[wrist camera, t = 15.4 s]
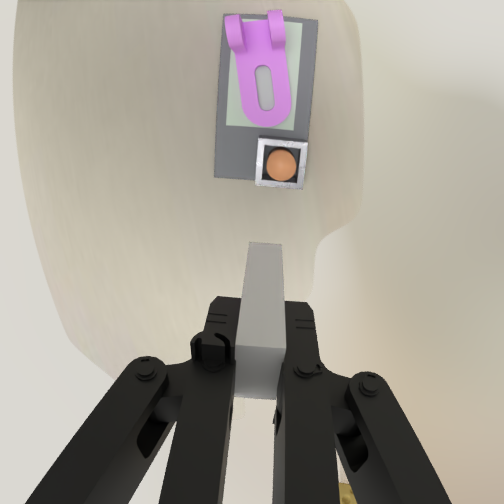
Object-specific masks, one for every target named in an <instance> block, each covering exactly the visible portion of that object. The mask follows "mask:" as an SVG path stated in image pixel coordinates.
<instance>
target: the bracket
mask: <svg viewBox="0 0 504 504" xmlns="http://www.w3.org/2000/svg"><path fill="white" fill-rule="evenodd" d="M267 16H268V19H267V20H257V21H249V22H243V21H242V19H241V17H240V15H239V14H236V15H230V16H225V29H226V35H227V40H228V44H229V47H230V48H231V49H232V51H233V52H234V53H235V59H236V66H237V73H238V80H239V88H240V95H241V102H242V109H243V112H244V114H245V115H246V117H247V118H248V119H249V120H250V121H251V122H253V123H254V124H256V125H259V126H263V127H271V126H275V125H278V124H280V123H281V122H283V121H284V120H285V119H286V118H287V116H288V115H289V113H290V110H291V94H290V86H289V78H288V70H287V62H286V55H285V43H286V35H285V26H284V20H283V14H282V10H271V11H267ZM259 66H266V67H268V68H269V69H270V71H271V76H272V84H273V92H274V100H275V105H274V107H273V108H272V109H271V110H268V111H266V110H263V109H261V108H260V106H259V101H258V93H257V85H256V78H255V70H256V69H257V68H258V67H259Z"/></svg>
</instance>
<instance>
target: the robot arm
mask: <svg viewBox="0 0 504 504" xmlns="http://www.w3.org/2000/svg"><path fill="white" fill-rule="evenodd" d="M315 329H316V327H315V322H314V313H313V310H312V309H311V308H310V306H309V305H308V303H307V302H295V301H284V280H283V260H282V244H270V243H258V242H249V248H248V255H247V262H246V270H245V277H244V284H243V291H242V298H233V297H222V296H217V297H216V298H215V299H214V300H213V301H212V303H211V304H210V307H209V311H208V315H207V319H206V323H205V326H204V330H203V331H202V332H199V333H198V334H197V335H195V336H194V337H193V338H192V340H191V342H190V346H191V356H192V358H191V359H190V360H188V361H186V362H184V363H179V364H172V365H165V364H164V363H163V361H161V360H159V359H158V358H156V357H151V356H144V357H139V358H137V359H134V360H133V361H132V362H131V363H129V364H128V366H127V367H126V368H125V369H124V371H123V372H122V373H121V375H120V376H119V377H118V378H117V380H116V381H115V382H114V384H113V385H112V386H111V388H110V389H109V390H108V392H107V393H106V394H105V396H104V397H103V398H102V400H101V401H100V402H99V403H98V405H97V406H96V407H95V408H94V410H93V411H92V413H91V414H90V415H89V416H88V418H87V419H86V420H85V422H84V423H83V425H82V426H81V427H80V429H79V430H78V431H77V432H76V434H75V435H74V436H73V438H72V439H71V440H70V442H69V443H68V445H67V446H66V447H65V449H64V450H63V451H62V453H61V454H60V455H59V457H58V458H57V460H56V461H55V462H54V464H53V465H52V466H51V468H50V469H49V471H48V472H47V473H46V475H45V476H44V478H43V479H42V480H41V482H40V483H39V484H38V486H37V487H36V489H35V490H34V491H33V493H32V494H31V496H30V497H29V499H28V500H27V501H26V503H25V504H128V503H129V501H130V500H131V498H132V496H133V494H134V493H135V491H136V489H137V488H138V486H139V484H140V482H141V481H142V479H143V477H144V475H145V474H146V472H147V470H148V469H149V467H150V465H151V463H152V462H153V460H154V458H155V456H156V455H157V453H158V451H159V449H160V448H161V446H162V444H163V442H164V441H165V439H166V437H167V436H168V434H169V432H170V430H171V429H172V427H173V425H174V423H175V421H177V424H176V428H175V432H174V436H173V441H172V445H171V450H170V454H169V458H168V462H167V467H166V472H165V476H164V480H163V485H162V490H161V494H160V499H159V504H222V501H223V492H224V484H225V475H226V466H227V457H228V448H229V440H230V430H231V421H232V413H233V399H234V397H243V398H255V399H270V400H271V399H272V400H276V396H277V406H276V410H275V414H274V419H273V424H275V430H274V431H275V432H274V469H273V499H272V500H273V502H272V504H340V493H339V481H338V469H337V458H336V450H337V453H338V455H339V458H340V461H341V463H342V466H343V468H344V471H345V473H346V476H347V479H348V481H349V484H350V486H351V489H352V491H353V494H354V497H355V499H356V502H357V504H452V503H451V501H450V500H449V497H448V495H447V493H446V491H445V489H444V487H443V485H442V483H441V481H440V479H439V477H438V475H437V474H436V472H435V470H434V468H433V466H432V464H431V462H430V460H429V458H428V456H427V454H426V453H425V451H424V449H423V447H422V445H421V443H420V441H419V439H418V438H417V436H416V434H415V432H414V430H413V428H412V426H411V425H410V423H409V421H408V419H407V417H406V416H405V414H404V412H403V410H402V408H401V407H400V405H399V403H398V401H397V400H396V398H395V396H394V394H393V393H392V391H391V389H390V387H389V386H388V384H387V382H386V381H385V380H384V379H383V378H382V377H381V376H379V375H378V374H376V373H372V372H360V373H357V374H355V375H354V376H353V377H352V378H348V377H344V376H341V375H337V374H335V373H332V372H331V371H329V370H328V369H327V368H326V367H325V366H324V364H323V363H322V362H321V360H320V356H319V348H318V341H317V335H316V330H315Z"/></svg>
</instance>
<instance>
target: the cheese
mask: <svg viewBox="0 0 504 504" xmlns="http://www.w3.org/2000/svg"><path fill="white" fill-rule="evenodd" d="M339 493H340V504H357V502H356V499H355V497H354V494H353V491H352V489H351V486H350V485H349V484H344V483H339Z"/></svg>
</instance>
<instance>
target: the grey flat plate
mask: <svg viewBox="0 0 504 504" xmlns="http://www.w3.org/2000/svg"><path fill="white" fill-rule="evenodd" d="M230 15H236V14H224V15H223V27H222V40H221V53H220V68H219V84H218V101H217V120H216V143H215V169H214V177H215V178H230V179H244V180H255V178H256V164H257V151H258V138H259V135H265V136H277V137H287V138H297V139H305V140H306V141H308V131H309V122H310V112H311V102H312V91H313V80H314V68H315V56H316V43H317V29H318V20H311V19H303V18H294V17H284V16H283V20H284V26H285V35H286V43H285V55H286V62H287V70H288V78H289V86H290V94H291V110H290V113H289V115H288V116H287V118H286V119H285V120H284V121H283V122H281V123H280V124H278V125H275V126H271V127H263V126H259V125H256V124H254V123H253V122H251V121H250V120H249V119H248V118H247V117H246V115H245V114H244V112H243V109H242V102H241V95H240V88H239V80H238V73H237V66H236V59H235V53H234V52H233V51H232V49H231V48H230V47H229V44H228V40H227V35H226V29H225V16H230ZM239 15H240V17H241V19H242V21H243V22H249V21H257V20H267V19H268V16H267V15H255V14H239ZM255 78H256V85H257V93H258V101H259V106H260V108H261V109H263V110H266V111H268V110H271V109H272V108H273V107H274V105H275V100H274V92H273V84H272V76H271V71H270V69H269V68H268V67H266V66H259V67H258V68H257V69H256V70H255ZM276 147H282V146H271V145H265V147H264V160H263V172H262V174H268V171H267V157H268V154H269V152H270V151H271V150H272V149H274V148H276ZM285 148H287V149H289V150H290V151H291V152H292V154H293V156H294V159H295V163H296V169H297V160H298V151H299V148H292V147H285ZM293 177H296V171H295V173H294V175H293Z"/></svg>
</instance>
